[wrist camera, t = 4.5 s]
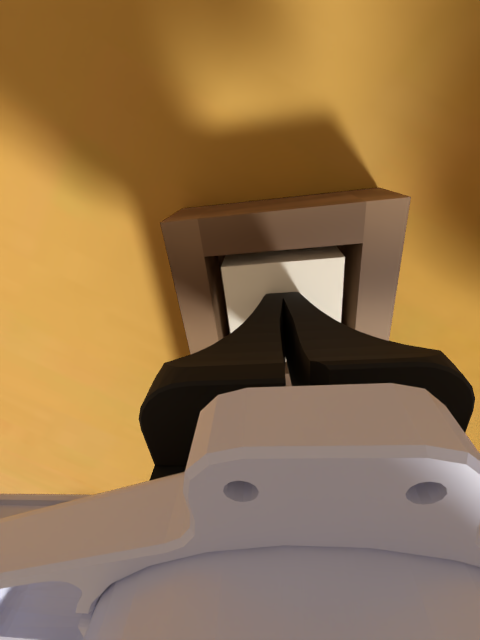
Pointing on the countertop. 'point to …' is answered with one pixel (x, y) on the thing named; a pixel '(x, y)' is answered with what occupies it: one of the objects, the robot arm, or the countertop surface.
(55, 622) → the robot arm
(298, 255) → the key cream
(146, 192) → the countertop surface
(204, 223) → the board
